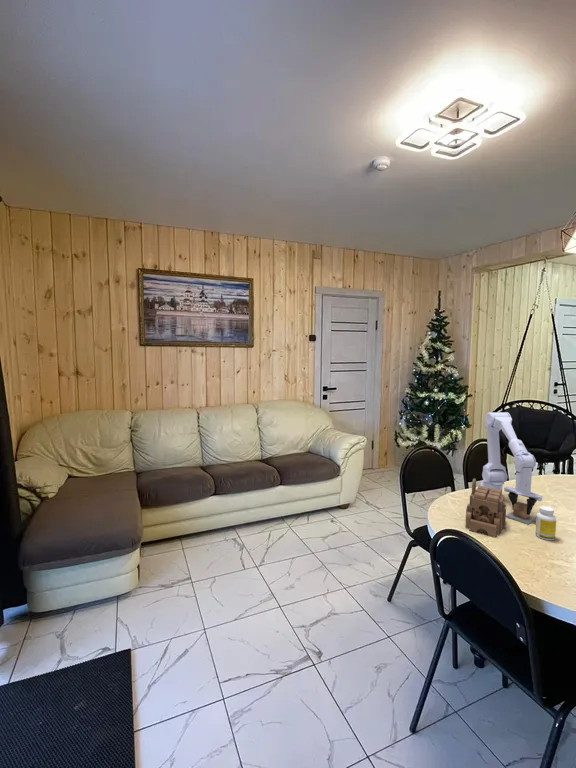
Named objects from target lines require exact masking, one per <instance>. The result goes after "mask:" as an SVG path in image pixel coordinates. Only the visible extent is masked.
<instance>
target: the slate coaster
mask: <svg viewBox="0 0 576 768" xmlns="http://www.w3.org/2000/svg"><path fill="white" fill-rule="evenodd" d="M506 519H510V520H513V521H515V522H519V523H522V524H525V525H531V524H532V523H533V522H536V516H533V515H530V517H529V518H527V519H523V518H520V517H517V516H514V515H513V511H511V512H509V513H508V514H506Z"/></svg>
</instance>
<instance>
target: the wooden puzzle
mask: <svg viewBox="0 0 576 768" xmlns="http://www.w3.org/2000/svg"><path fill="white" fill-rule="evenodd" d="M471 483H472V484H471V493H470V495H469V503H468V504H467V506H466V511H465V529H469V530H468V531H470V532H473V533H477V532H478V531H480V530H481V531H484V532H486V533H487V536H489V537H493V538H496V537H497V536H499V534H501V533H502V531H503V530H505V529H506V520H507V518H506V515H507V507H506V506H507V504H506V503H505V501H504V500H505V494H503V489H502V490H499V489H494V488H491V489H490V491H489V488H488V487H483V486H480V485H478V486H477V478H473V479H472V482H471Z"/></svg>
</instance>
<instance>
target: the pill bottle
mask: <svg viewBox="0 0 576 768" xmlns="http://www.w3.org/2000/svg"><path fill="white" fill-rule="evenodd" d="M554 514H555V509H554V508H553V507H550V506H544V505H541V506H539V512H537V513H536V516H535V517H536V520H535V535H536V536H537V537H538V538H540V539H542V540H545V541H554V540H555V539H556V532H557V531H556V530H557V517H556V516H555V515H554Z"/></svg>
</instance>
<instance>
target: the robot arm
mask: <svg viewBox="0 0 576 768" xmlns="http://www.w3.org/2000/svg"><path fill="white" fill-rule="evenodd" d="M512 422H513V418H512V416H511V414H510V413H509V412H508V411H505V412H500V411H499V412H491V411H489V412H487V413H486V415H484V426H485V427H484V428H485V429H486V438H487V439H486V441H487V459H488V460H487V461H488V462H487V463H486V464H485V465H483V466H482V474H481V476H482V479H483V480H482V481H481V482H480V483H479V484H480V485H479V486H483V487H488V488H489V491H490V489H491V488H494V489H499V490H502V491H503V485H505V483H506V482H507V481H508V474H507V471H506V466H504V465H503V464H502V463H501V449H500V448H501V447H500V431H502V433H503V434H504V435H505V437H506V439H507V440H508V447H509V449H510V451H511V453H512V455H513V457H514V458H513V464H514V470H515V471H516V474H515V487H510V486H504V491H503V492H505V493H508V494H507V497H508V498H509V500H510V502H511V506H512V510H513V509H514V504H515V503H517V502H518V499H519V496H522V497H525V498H527V499H526V504H527V515H529V514H530V515H531V513H532V510H533V508H534V506H535V504H536V502H542V501H543V495H539V494H536V493H535V492H532V491H531V490H532V478H533V477H532V474H533V469H534V468H535V467H536V465H537V460H536V458H535V456H534V454H531V452H529V451H528V449H527V448H526V446H525V444H524V443H523V441H522V440H521V439H518V437H517V434H516V432H515V430H514V428H513V425H512ZM504 502H506V499H504Z"/></svg>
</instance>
